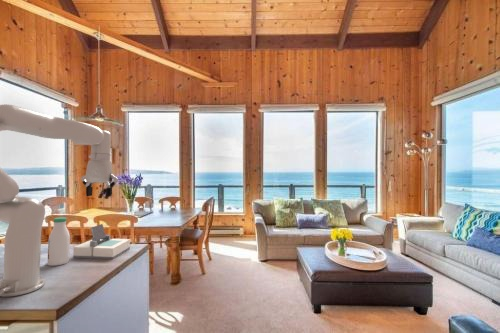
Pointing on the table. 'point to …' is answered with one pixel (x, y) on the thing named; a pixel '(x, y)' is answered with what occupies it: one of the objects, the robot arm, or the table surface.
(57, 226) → the milk bottle
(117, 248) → the white boxy piece
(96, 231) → the lock flap
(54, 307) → the table surface
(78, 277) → the table surface
